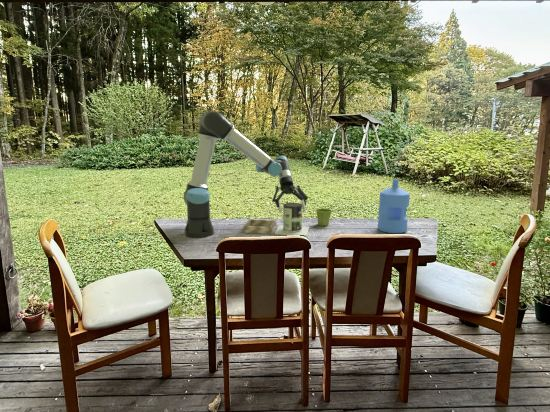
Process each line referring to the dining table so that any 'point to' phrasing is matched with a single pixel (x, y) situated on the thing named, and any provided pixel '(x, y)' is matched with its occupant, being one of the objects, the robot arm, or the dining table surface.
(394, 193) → the water jug
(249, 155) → the robot arm
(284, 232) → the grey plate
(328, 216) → the plant pot
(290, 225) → the coffee can
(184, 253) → the dining table surface
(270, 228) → the birch frame
